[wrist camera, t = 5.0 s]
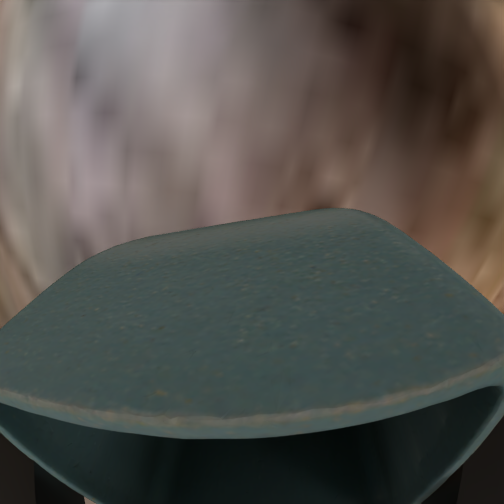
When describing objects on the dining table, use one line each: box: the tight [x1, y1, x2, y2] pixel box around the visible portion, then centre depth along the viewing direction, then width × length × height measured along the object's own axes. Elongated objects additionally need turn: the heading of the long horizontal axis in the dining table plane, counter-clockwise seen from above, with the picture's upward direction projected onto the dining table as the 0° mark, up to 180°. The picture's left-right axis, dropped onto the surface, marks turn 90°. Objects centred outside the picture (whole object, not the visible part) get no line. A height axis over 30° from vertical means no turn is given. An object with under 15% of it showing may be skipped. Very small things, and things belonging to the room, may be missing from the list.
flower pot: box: [0, 208, 504, 504], centre depth 8 cm, size 9×9×9 cm
